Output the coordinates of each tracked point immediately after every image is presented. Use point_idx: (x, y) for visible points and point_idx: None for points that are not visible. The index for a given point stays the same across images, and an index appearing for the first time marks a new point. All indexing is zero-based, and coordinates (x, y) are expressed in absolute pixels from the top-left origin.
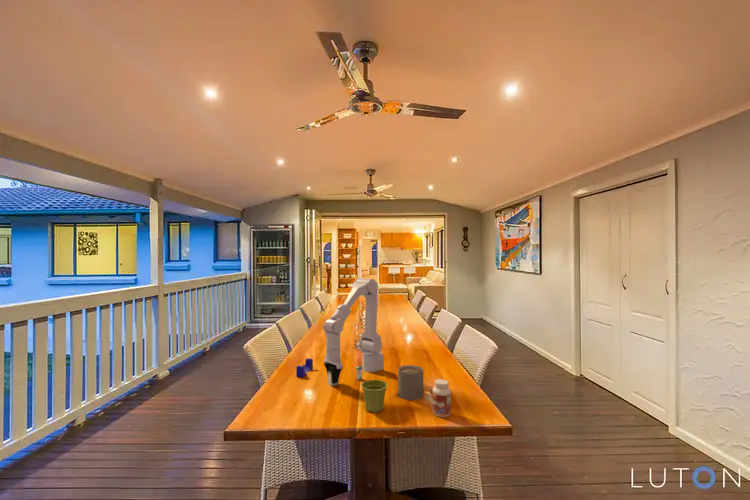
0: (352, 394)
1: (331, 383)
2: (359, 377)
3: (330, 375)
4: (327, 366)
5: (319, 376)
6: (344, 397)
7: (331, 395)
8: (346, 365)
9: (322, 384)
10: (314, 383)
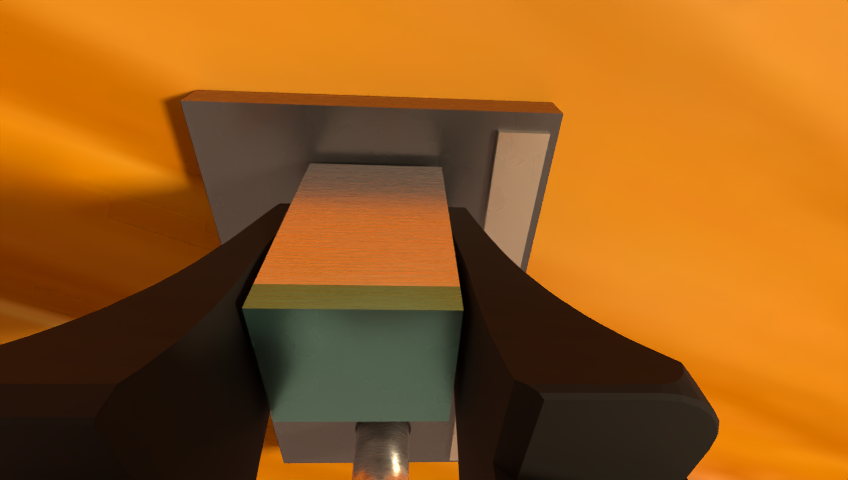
0: (115, 286)
1: (300, 187)
2: (355, 457)
3: (310, 256)
4: (488, 373)
5: (833, 181)
6: (32, 193)
7: (122, 73)
8: (792, 449)
9: (564, 113)
10: (687, 15)
